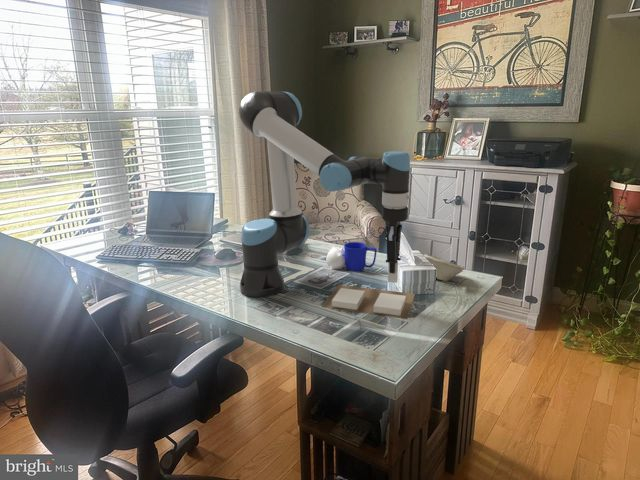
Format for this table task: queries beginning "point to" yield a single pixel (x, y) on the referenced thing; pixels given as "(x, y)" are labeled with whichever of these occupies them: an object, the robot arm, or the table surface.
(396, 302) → the tile
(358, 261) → the mug
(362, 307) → the board
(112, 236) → the table surface
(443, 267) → the bowl
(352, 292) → the tile
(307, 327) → the table surface
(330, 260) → the crumpled paper ball
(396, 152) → the robot arm
